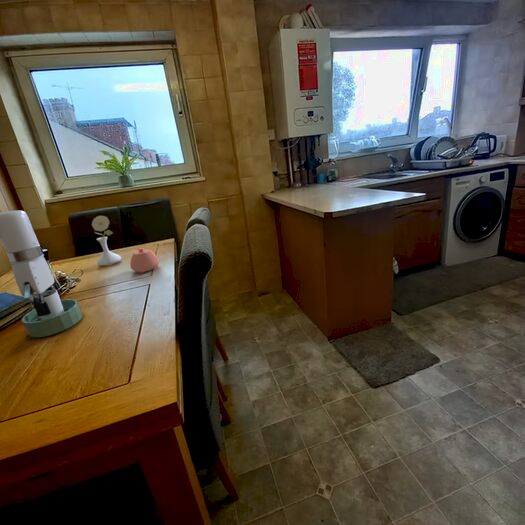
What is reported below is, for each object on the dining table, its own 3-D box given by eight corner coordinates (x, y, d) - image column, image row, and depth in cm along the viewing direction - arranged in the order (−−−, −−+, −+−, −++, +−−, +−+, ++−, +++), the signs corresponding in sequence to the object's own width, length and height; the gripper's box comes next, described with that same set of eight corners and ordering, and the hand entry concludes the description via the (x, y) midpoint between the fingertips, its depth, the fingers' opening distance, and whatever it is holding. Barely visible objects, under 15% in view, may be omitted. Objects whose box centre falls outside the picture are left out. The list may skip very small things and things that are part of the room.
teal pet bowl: (19, 344, 80) (10, 327, 78) (43, 319, 93) (37, 304, 91) (72, 332, 82) (66, 316, 80) (89, 309, 95) (83, 295, 94)
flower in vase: (92, 268, 140) (75, 219, 132) (109, 260, 151) (94, 214, 142) (114, 267, 137) (98, 217, 128) (129, 259, 147) (115, 212, 139)
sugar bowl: (136, 276, 120) (130, 254, 117) (128, 269, 131) (122, 249, 127) (164, 268, 127) (158, 246, 124) (154, 261, 138) (148, 242, 134)
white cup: (62, 315, 92) (50, 288, 88) (72, 319, 88) (61, 291, 85) (39, 326, 86) (26, 297, 83) (49, 330, 83) (36, 301, 80)
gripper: (27, 249, 87) (49, 300, 93) (-9, 267, 71) (20, 327, 77) (54, 244, 88) (74, 295, 94) (24, 261, 72) (50, 321, 78)
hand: (50, 309), depth 86 cm, fingers closed on white cup, 5 cm apart
